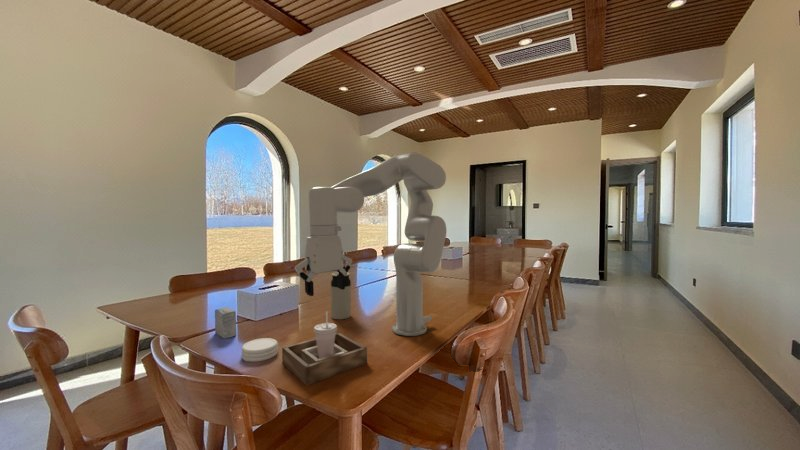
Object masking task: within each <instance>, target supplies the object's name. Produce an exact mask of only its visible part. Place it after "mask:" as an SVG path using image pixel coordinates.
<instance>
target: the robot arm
mask: <svg viewBox="0 0 800 450" xmlns="http://www.w3.org/2000/svg"><path fill="white" fill-rule="evenodd" d="M446 180H447V175H446V172H445V170H444V168H443V167H442V166H441V165H440V164H438V163H437V162H435V161H433V160H432V159H430V158H429V157H427V156H425V155H423V154H421V153H418V152H408V153H402V154H397V155H394V156H391V157H390V158H387V159H386V160H384V161H382V162H380V163H379V164H377V165H375V166H373V167H371V168H369V169H367V170H364V171H362V172H360V173H358V174H356V175H353V176H351V177H349V178H346V179H344V180H342V181H340V182H338V183H336V184H334V185H333V186H330V187H329V186H315V187H311V188H310V189H309V190H308V206H309V207H308V211H309V213H308V214H309V215H308V216H309V236H307V238H306V243H305V248H304V249H305V251H304V252H305V253H304V260H301V261H300V262H299V263H298V264H296V265H295V266H294V270H295V271H296V273H297V276H298V277H300V278H301V279H302V280H303V281H304V292H305V293H306V295H307V296H309V297H313V296H314V295H315V293H314V281H313V279H314V277H315V275H318V274H323V273H330V272H338V273H339V274H338V275H337V287H338V288H339V289H342V290H344V289H345V276H346V275H347V272H348V273H349V270H350V269H351V265H352V264H353V259H352V258H351V257H349V256H347V255H344V251H343V249H344V248H343V244H342V240H341V237H340V236H341V235H339V232H342V226H339V224H338V214H339V213H341V214H343V213H344V214H350V213H356V212H358V211H360V210H361V208H362V207H363V206H364V204H365V198H367V197H372V196H376V195H380V194H382V193H384V192H386V191H387V190H389V189H390V188H392V187H393V186H395V185H397V184H398V183H400V182H402V181H403V184H404V186H405V188H406V190H407V192H408V195H409V198H410V205H409V210H408V214H407V218H406V221H405V227H404V236H405V237H406V239H408V240H409V241H414V242H423V244H422V243H421V244H419V243H407V242H406V243H401V244H399V245H398V246H397V247H396V248H395V249H394V253H393V264H394V268H395V278H396V283H395V284H396V288H395V289H396V290H395V291H396V294H395V295H396V310H395V311H396V317H395V318H396V323H394V324H393V325H392V326H391V327H392V328H391V330H392V332H393V333H394V334H396V335H399V336H406V337H416V336H420V335H424V334H425V333H426V332H427V325H426V324H425V323H426V322H430V321H431V320H432V315H426V316H424V315H423V306H424V305H423V303H424V302H423V301H424V299H423V298H424V297H423V295H424V294H423V292H424V291H423V285H424V283H423V277H422V275H421V273H427V274H430V273H434V272H436V270H438V267H439V266H440V264H441V259H442V255H443V251H444V247H445V242H446V238H447V224H446V221H445V220H444V219H443V218H442V217H441V216H440V215H439V216H438V215H433V209H434V204H433V203H434V202H433V200H432V197H431V196H430V194H429V192H428V191H430V190H431V191H432V190H439V189H441V188H442V187H443V186H444V185H445V183H446ZM344 262H345V265H344ZM303 268H304V270H305V271H306V272H305V271H304V270H303Z"/></svg>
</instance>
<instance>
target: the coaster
mask: <svg viewBox="0 0 800 450" xmlns="http://www.w3.org/2000/svg"><path fill="white" fill-rule="evenodd" d="M278 345H279V343H278V341H277V340H276V339H274V338H270V337H269V338H268V337H262V338H254V339H252V340H248V341H247V342H245V343H244V344H243V345H242V346H241V359H242V360H244V362H250V363H254V362H255V363H256V362H263V361H267V360H269V359H271V358H274V357H276V355H278V352H279V350H278Z"/></svg>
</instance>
